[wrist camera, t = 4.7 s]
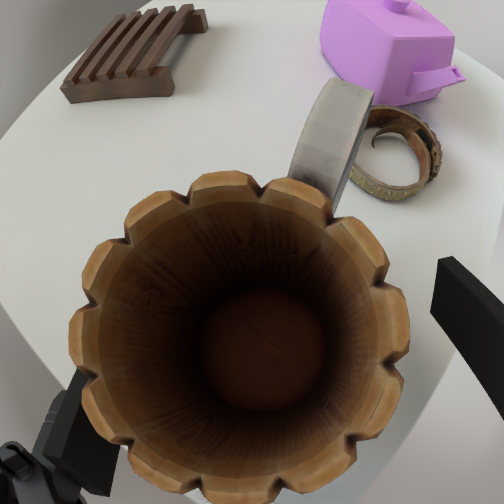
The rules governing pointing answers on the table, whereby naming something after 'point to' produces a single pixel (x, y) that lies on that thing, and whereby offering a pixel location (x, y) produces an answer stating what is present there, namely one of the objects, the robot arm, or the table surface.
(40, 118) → the table surface
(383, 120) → the bracelet
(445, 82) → the teapot
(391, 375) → the mug
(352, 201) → the table surface
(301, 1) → the table surface
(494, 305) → the robot arm
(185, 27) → the drying rack
